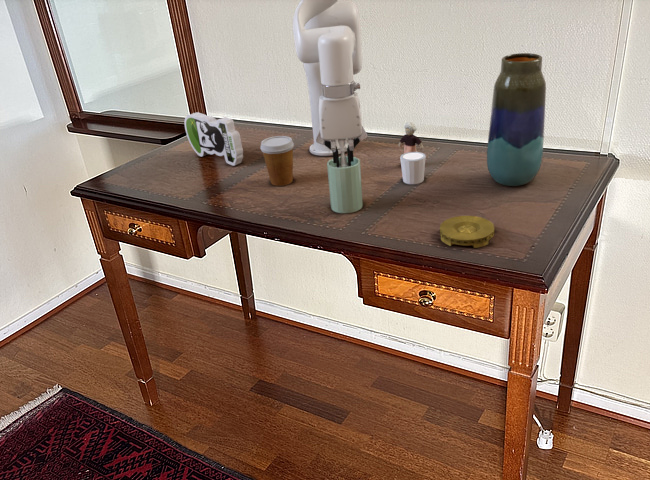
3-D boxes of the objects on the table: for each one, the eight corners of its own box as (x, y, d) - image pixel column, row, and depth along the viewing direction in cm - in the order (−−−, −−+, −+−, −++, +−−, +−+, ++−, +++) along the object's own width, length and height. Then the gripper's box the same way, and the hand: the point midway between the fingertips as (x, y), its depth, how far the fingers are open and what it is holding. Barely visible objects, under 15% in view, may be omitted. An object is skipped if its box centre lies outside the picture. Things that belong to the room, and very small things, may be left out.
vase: (549, 176, 167) (563, 53, 150) (523, 195, 159) (535, 66, 142) (502, 167, 175) (509, 49, 158) (475, 184, 167) (480, 61, 150)
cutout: (239, 121, 188) (188, 104, 202) (232, 124, 186) (181, 106, 201) (245, 168, 197) (195, 149, 211) (238, 171, 195) (188, 151, 209)
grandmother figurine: (396, 167, 182) (394, 124, 175) (399, 162, 185) (398, 120, 178) (422, 169, 179) (422, 125, 173) (425, 164, 182) (425, 120, 176)
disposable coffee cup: (283, 172, 187) (277, 133, 180) (305, 179, 181) (300, 138, 174) (258, 183, 182) (252, 143, 175) (280, 190, 176) (274, 149, 169)
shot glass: (429, 176, 174) (429, 152, 171) (421, 186, 169) (421, 161, 166) (405, 174, 177) (404, 150, 173) (397, 184, 172) (396, 159, 168)
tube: (351, 197, 168) (348, 153, 161) (368, 206, 161) (366, 162, 155) (325, 205, 164) (321, 162, 158) (341, 216, 158) (338, 171, 152)
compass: (434, 245, 141) (434, 237, 140) (445, 222, 150) (445, 214, 149) (489, 250, 137) (490, 241, 136) (497, 226, 146) (497, 217, 145)
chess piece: (352, 174, 155) (349, 134, 150) (332, 174, 156) (329, 135, 151) (355, 166, 159) (352, 128, 154) (336, 167, 160) (333, 128, 155)
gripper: (371, 82, 150) (374, 156, 160) (304, 89, 150) (311, 162, 160) (373, 91, 143) (377, 167, 153) (303, 97, 144) (311, 173, 154)
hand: (343, 164), depth 157 cm, fingers closed on chess piece
